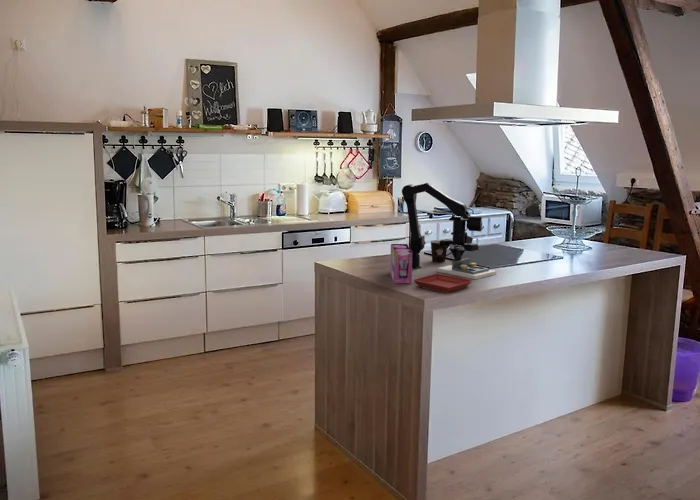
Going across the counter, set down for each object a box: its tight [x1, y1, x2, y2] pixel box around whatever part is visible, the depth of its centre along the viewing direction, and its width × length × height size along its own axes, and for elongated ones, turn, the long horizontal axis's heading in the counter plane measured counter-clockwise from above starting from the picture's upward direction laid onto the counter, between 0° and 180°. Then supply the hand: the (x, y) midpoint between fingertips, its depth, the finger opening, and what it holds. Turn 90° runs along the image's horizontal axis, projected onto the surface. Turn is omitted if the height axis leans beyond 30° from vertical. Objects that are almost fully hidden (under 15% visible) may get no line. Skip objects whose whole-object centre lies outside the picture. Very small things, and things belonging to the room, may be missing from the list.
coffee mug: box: [430, 239, 452, 264], centre depth 314 cm, size 12×9×10 cm
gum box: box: [389, 243, 413, 284], centre depth 276 cm, size 24×8×14 cm, turn 1°
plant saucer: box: [412, 273, 473, 293], centre depth 262 cm, size 18×18×3 cm
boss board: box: [436, 262, 497, 280], centre depth 289 cm, size 16×22×4 cm
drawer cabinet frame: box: [451, 257, 490, 274], centre depth 287 cm, size 12×12×4 cm
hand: (457, 263), depth 293 cm, fingers closed
